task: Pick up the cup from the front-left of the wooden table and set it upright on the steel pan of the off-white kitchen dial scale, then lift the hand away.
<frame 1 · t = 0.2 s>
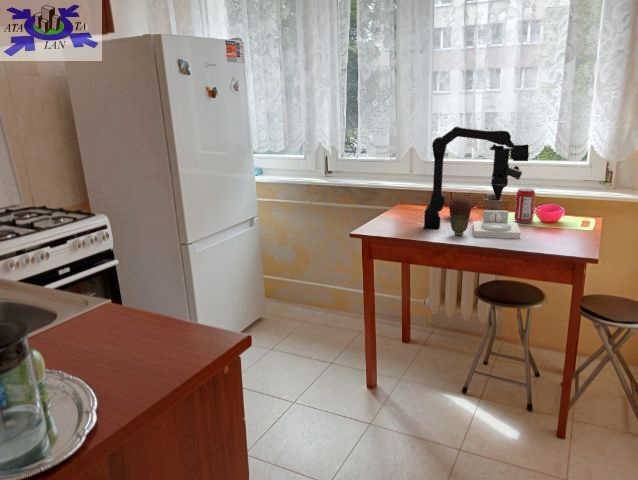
hand: (498, 197, 207), 14 cm above the table, fingers open, 9 cm apart
scale: (495, 232, 208), on the table
lighter: (492, 215, 236), on the table
muffin: (459, 218, 233), on the table
soda can: (523, 221, 222), on the table
cup: (458, 235, 206), on the table
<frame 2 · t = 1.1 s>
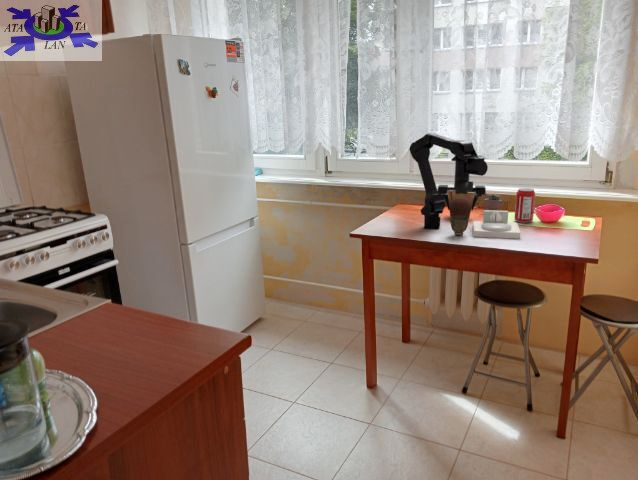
hand: (460, 210, 203), 11 cm above the table, fingers open, 9 cm apart
nothing on the table moved.
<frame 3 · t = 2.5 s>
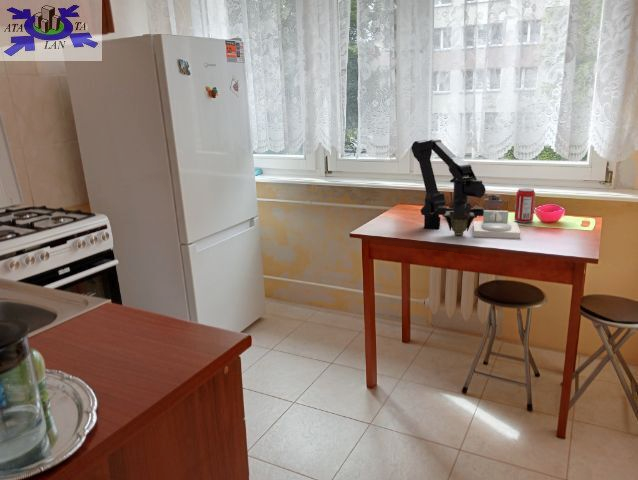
hand: (458, 230, 205), 2 cm above the table, fingers closed on cup, 6 cm apart
cup: (458, 235, 206), on the table, touching gripper
everything else where it was.
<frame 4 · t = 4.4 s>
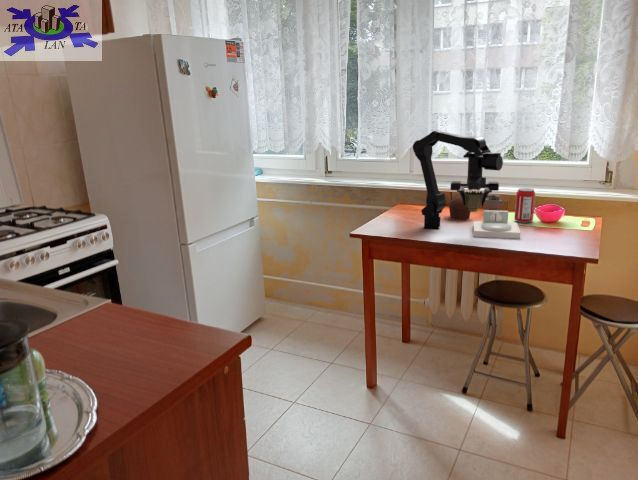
hand: (473, 206, 202), 12 cm above the table, fingers closed on cup, 6 cm apart
cup: (473, 211, 203), point 10 cm above the table, touching gripper
everything else where it was.
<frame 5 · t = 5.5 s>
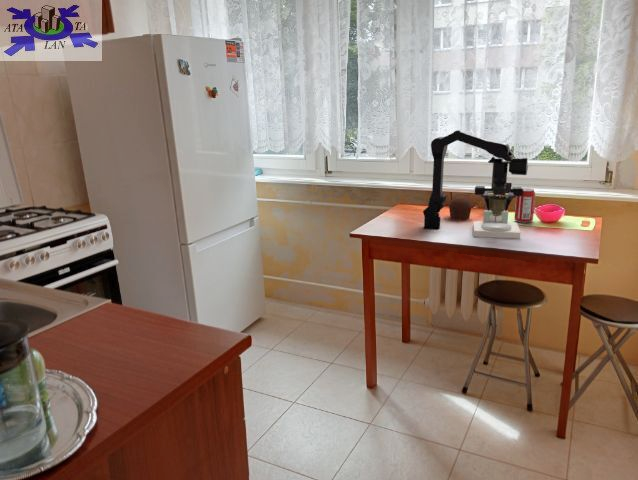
hand: (496, 211, 204), 10 cm above the table, fingers closed on cup, 6 cm apart
cup: (496, 216, 204), point 7 cm above the table, touching gripper
everything else where it was.
when the fingers open (7 cm above the table, at t = 6.5 s): cup drops 1 cm, resting on scale.
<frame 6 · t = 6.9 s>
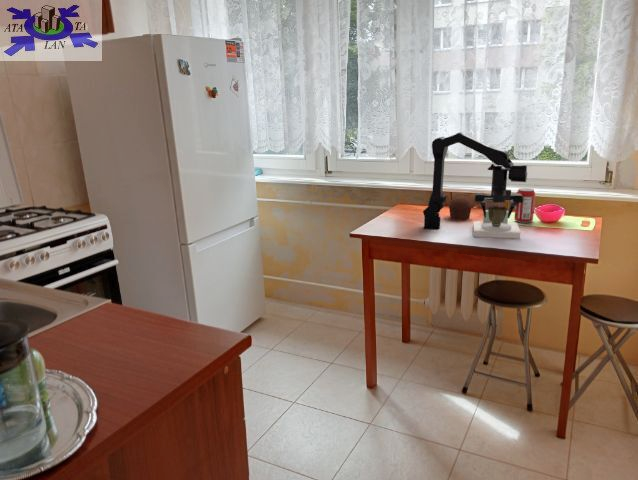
hand: (496, 217, 204), 7 cm above the table, fingers open, 9 cm apart
cup: (496, 226, 205), point 3 cm above the table, touching scale
everything else where it was.
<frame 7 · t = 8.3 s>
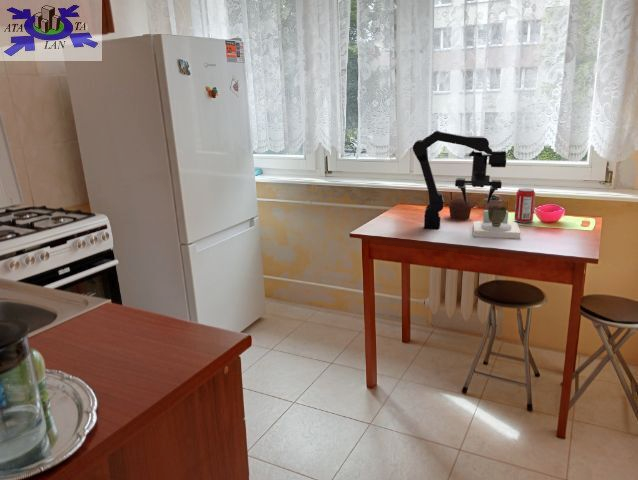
hand: (476, 202, 211), 12 cm above the table, fingers open, 9 cm apart
nothing on the table moved.
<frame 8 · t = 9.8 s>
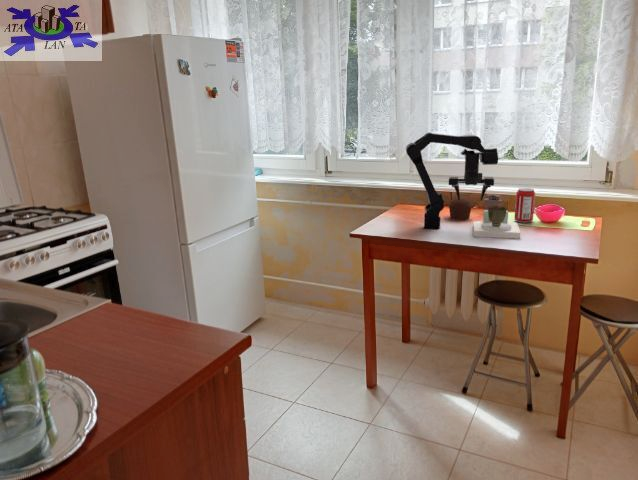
hand: (470, 200, 214), 12 cm above the table, fingers open, 9 cm apart
nothing on the table moved.
at the end: cup inside the target area on the scale (0.2 cm from its centre), point 3.0 cm above the scale's base; cup touching scale; cup tilted 0° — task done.
